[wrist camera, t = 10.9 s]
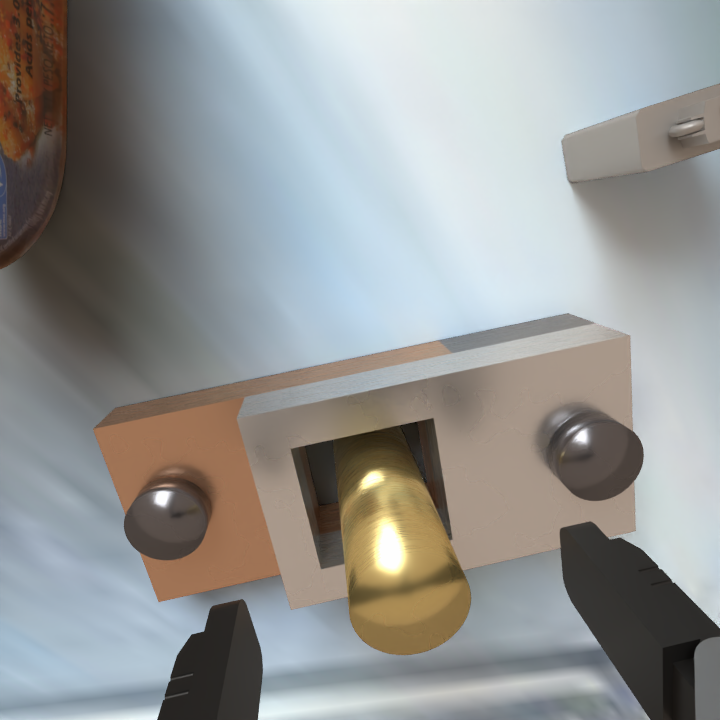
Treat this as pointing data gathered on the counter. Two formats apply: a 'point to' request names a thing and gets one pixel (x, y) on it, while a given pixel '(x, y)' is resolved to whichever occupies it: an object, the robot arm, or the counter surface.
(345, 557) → the pin
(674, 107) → the lighter
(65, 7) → the tin
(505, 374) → the door latch
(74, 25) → the counter surface
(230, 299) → the counter surface
